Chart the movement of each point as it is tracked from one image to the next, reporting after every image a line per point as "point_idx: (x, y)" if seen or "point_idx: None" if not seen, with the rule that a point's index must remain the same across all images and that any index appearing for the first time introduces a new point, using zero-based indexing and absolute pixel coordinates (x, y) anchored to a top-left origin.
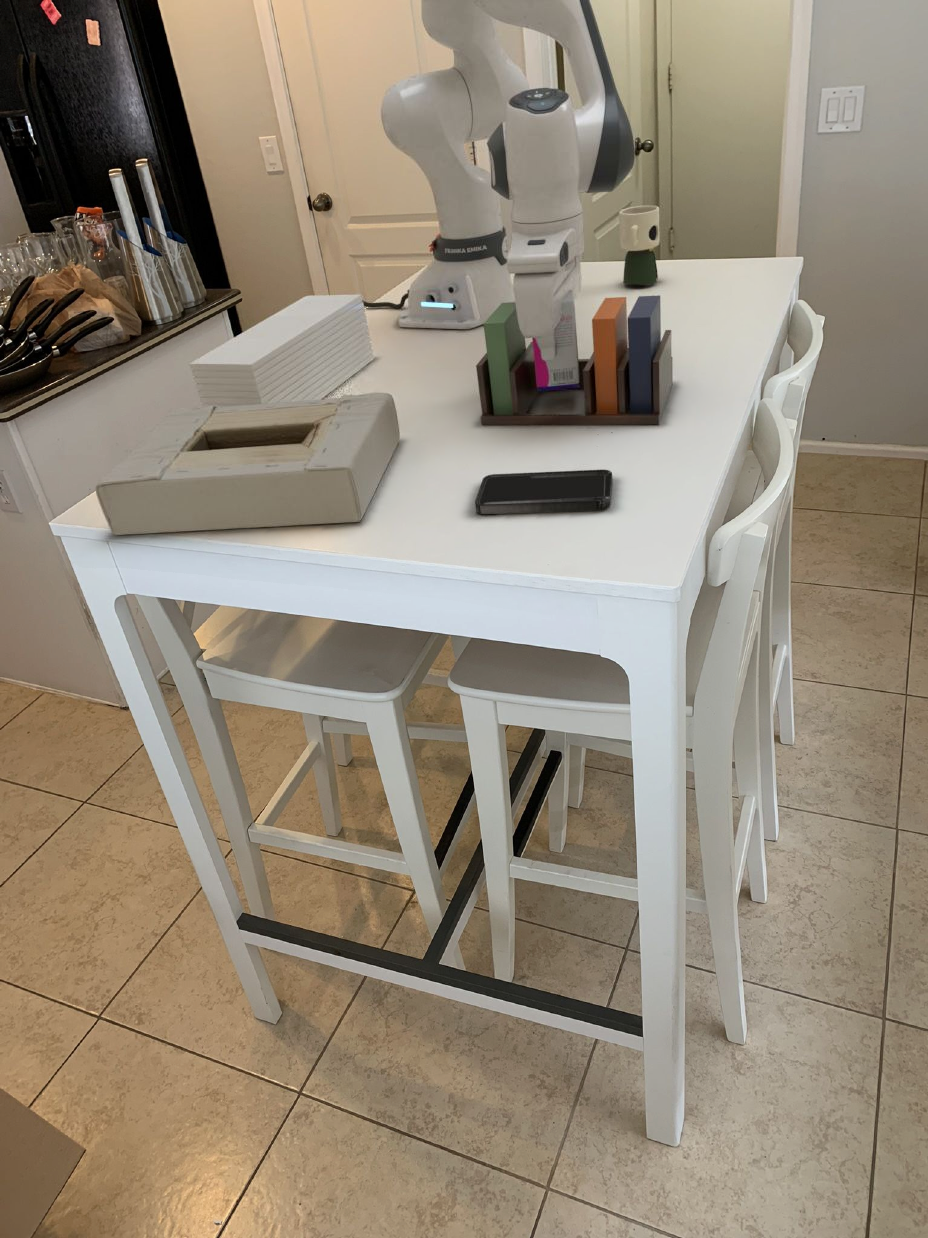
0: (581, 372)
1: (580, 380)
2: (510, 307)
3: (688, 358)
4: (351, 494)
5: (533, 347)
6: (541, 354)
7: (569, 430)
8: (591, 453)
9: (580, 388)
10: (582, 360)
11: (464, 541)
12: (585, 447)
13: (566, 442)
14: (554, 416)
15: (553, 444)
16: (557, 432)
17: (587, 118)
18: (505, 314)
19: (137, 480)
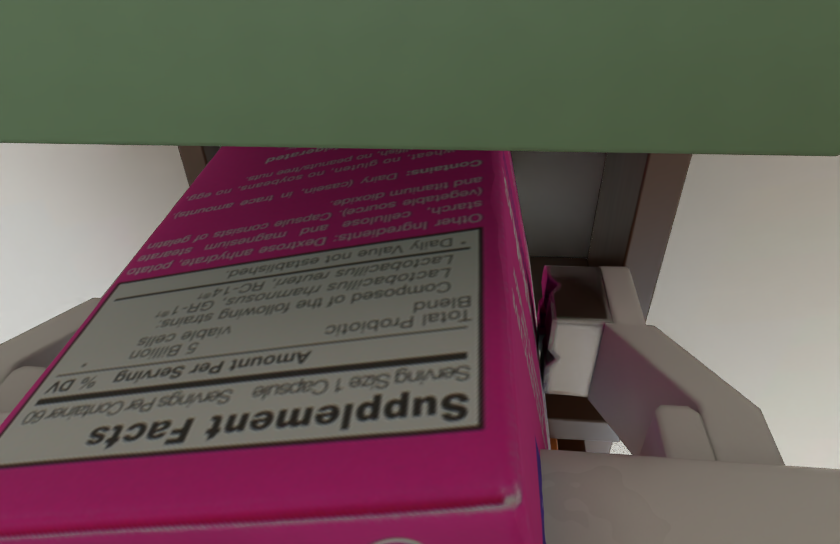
0: (612, 224)
1: (609, 195)
2: (476, 19)
3: (820, 462)
4: None
5: (165, 219)
6: (126, 266)
7: (166, 205)
8: (30, 292)
9: (603, 174)
10: (634, 263)
11: None
12: (60, 272)
13: (69, 212)
14: (183, 161)
15: (34, 173)
16: (135, 166)
17: None
18: (33, 38)
19: None
